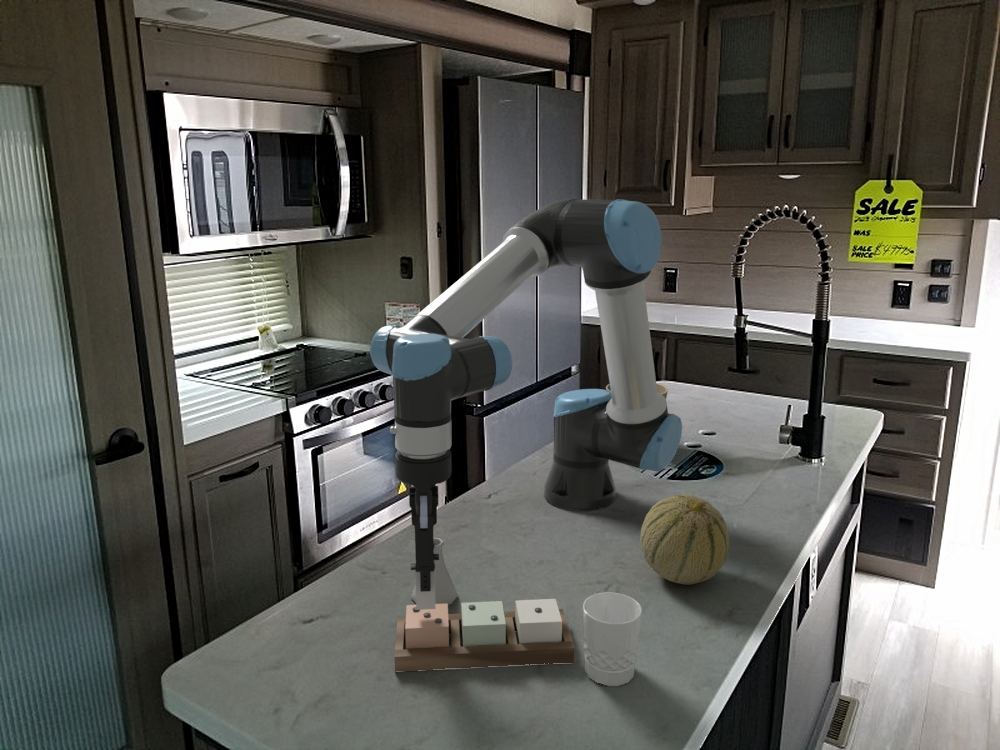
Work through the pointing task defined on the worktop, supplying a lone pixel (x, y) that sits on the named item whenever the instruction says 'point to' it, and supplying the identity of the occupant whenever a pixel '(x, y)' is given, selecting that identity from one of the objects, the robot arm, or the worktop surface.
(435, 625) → the three-pip tile
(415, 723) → the worktop surface
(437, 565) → the flask
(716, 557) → the cantaloupe
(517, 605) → the tile
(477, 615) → the tile
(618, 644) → the white cup
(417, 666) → the board
